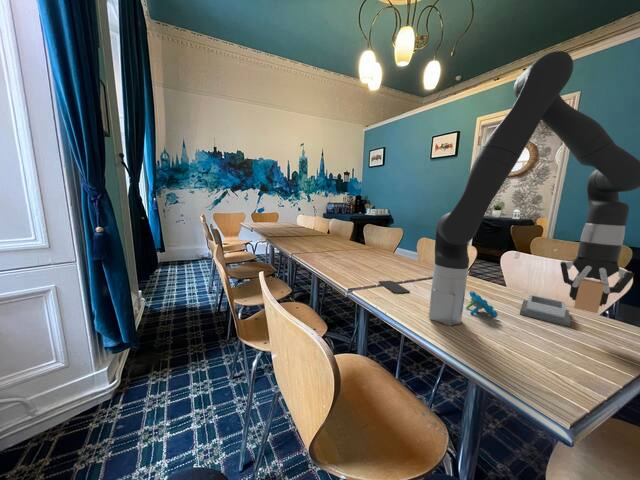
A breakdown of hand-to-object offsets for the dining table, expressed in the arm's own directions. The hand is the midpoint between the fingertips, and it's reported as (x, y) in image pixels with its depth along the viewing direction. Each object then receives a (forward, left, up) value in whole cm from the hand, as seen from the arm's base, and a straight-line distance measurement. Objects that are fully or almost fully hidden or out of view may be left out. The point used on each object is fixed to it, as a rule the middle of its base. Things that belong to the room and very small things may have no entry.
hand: (586, 302), depth 69 cm
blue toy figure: (-4, +23, -10) cm, 26 cm away
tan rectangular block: (0, 0, -2) cm, 2 cm away
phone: (-2, +56, -11) cm, 57 cm away
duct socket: (+12, +8, -10) cm, 18 cm away
